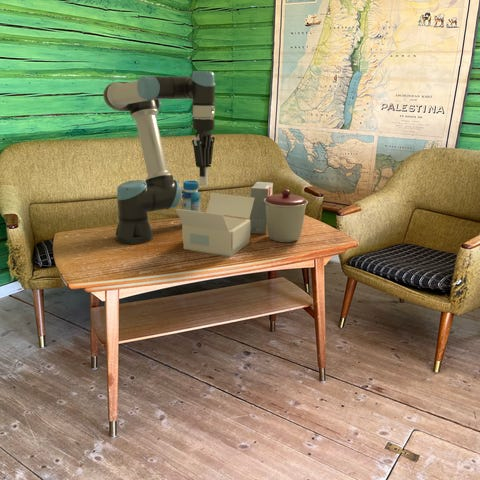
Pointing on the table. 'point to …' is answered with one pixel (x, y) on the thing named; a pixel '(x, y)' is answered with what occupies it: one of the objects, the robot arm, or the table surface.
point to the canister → (285, 216)
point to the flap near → (203, 219)
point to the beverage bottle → (191, 196)
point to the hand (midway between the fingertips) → (203, 185)
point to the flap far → (230, 205)
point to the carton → (218, 237)
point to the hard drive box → (259, 207)
